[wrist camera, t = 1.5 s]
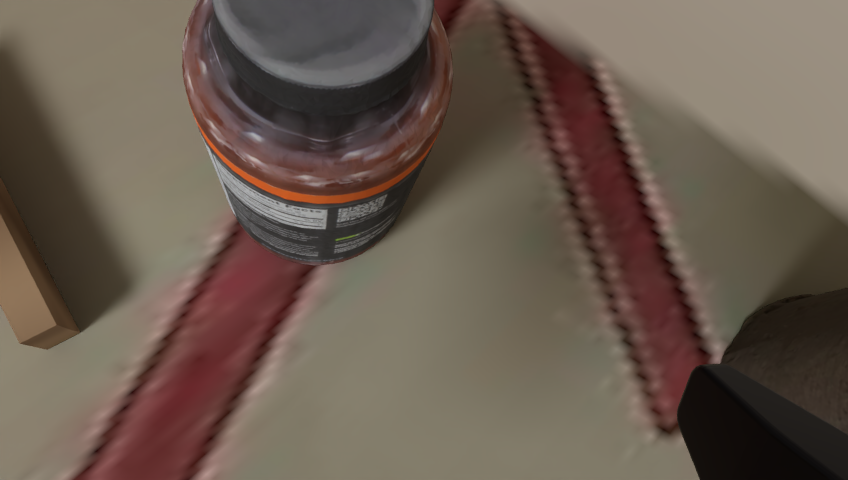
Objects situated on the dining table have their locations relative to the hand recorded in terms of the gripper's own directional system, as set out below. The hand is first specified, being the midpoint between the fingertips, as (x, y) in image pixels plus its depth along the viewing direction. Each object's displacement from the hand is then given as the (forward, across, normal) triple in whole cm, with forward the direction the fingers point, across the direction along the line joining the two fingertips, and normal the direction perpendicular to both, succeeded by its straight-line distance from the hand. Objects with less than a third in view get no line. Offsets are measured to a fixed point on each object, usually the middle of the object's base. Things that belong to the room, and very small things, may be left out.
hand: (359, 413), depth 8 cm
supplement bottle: (+15, 0, +4) cm, 15 cm away
